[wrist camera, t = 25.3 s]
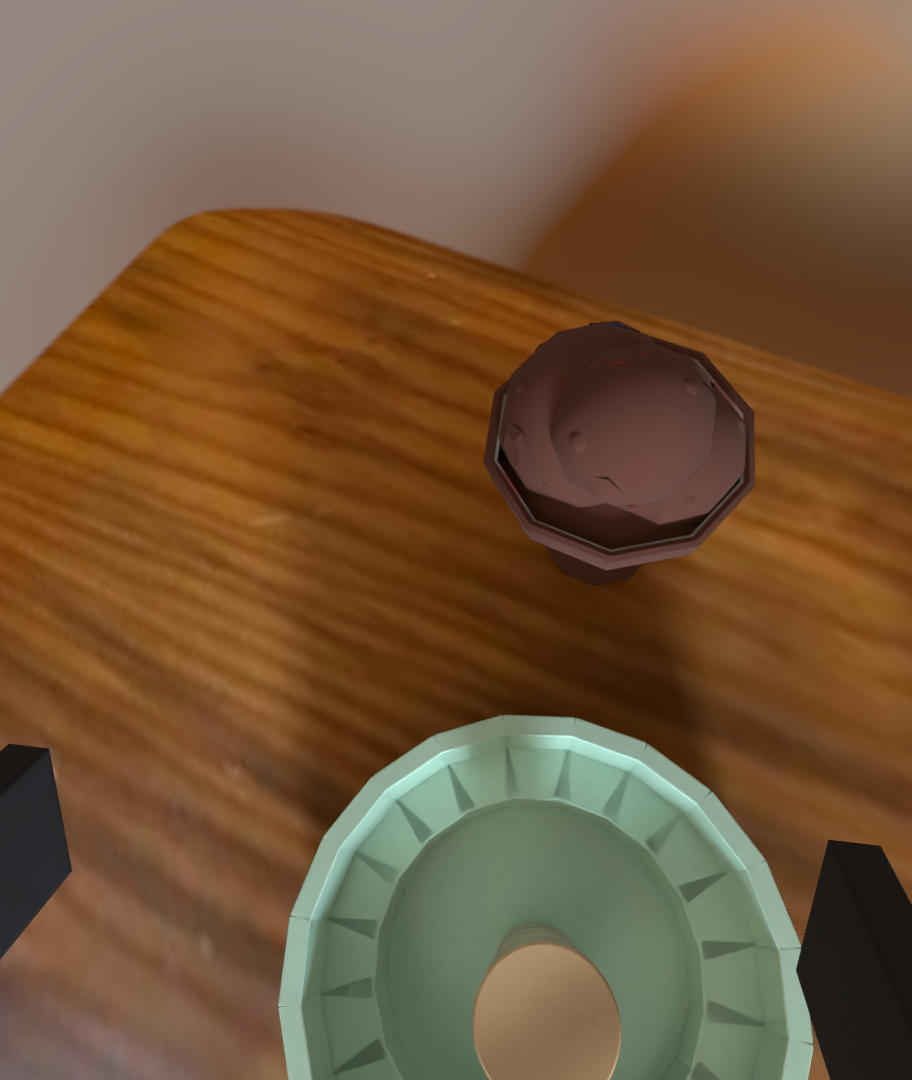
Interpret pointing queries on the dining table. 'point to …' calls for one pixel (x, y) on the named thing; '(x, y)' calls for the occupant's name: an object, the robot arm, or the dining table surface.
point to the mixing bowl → (539, 910)
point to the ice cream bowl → (619, 449)
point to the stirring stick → (545, 1011)
